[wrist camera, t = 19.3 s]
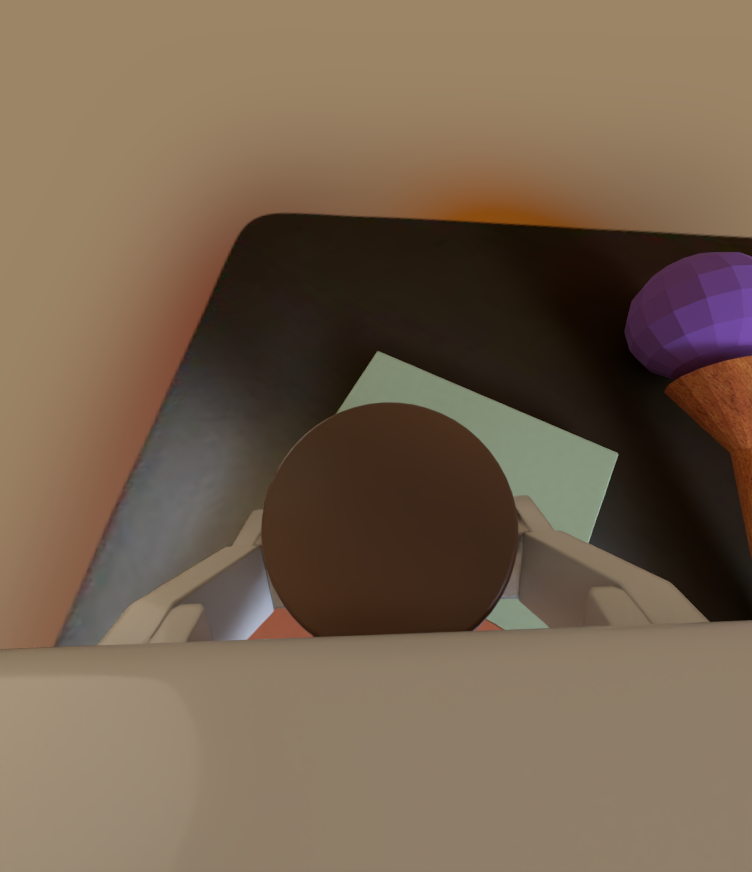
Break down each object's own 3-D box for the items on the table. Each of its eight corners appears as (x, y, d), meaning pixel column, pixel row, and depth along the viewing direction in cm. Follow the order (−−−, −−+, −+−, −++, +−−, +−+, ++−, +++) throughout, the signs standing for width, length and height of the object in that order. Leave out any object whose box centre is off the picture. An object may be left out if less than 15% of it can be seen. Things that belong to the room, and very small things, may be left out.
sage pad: (537, 651, 16) (550, 656, 14) (287, 505, 19) (278, 498, 18) (603, 463, 19) (619, 453, 18) (378, 365, 22) (377, 349, 21)
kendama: (819, 773, 11) (637, 238, 17) (704, 703, 16) (599, 316, 23) (1110, 794, 9) (794, 206, 16) (878, 710, 15) (713, 297, 22)
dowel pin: (418, 645, 14) (453, 730, 5) (326, 589, 15) (206, 568, 6) (462, 546, 15) (556, 461, 6) (375, 500, 16) (341, 367, 7)
